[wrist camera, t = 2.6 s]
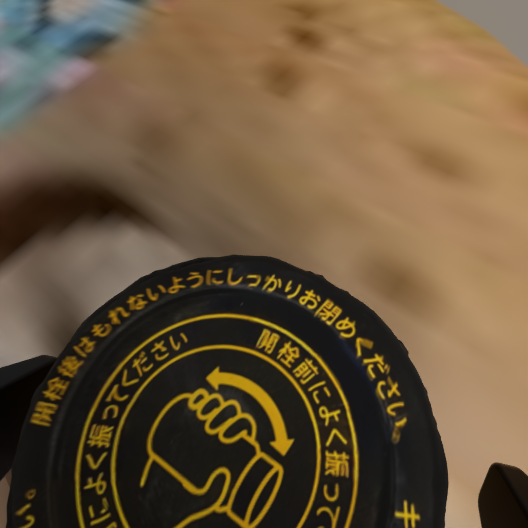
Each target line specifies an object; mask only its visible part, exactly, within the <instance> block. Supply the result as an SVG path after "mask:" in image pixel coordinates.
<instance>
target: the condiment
mask: <svg viewBox="0 0 528 528" xmlns="http://www.w3.org/2000/svg"><path fill="white" fill-rule="evenodd" d="M11 475H12V478H11V484H10V491H9V496H8V501H7V523H6V528H444V527H445V512H446V502H447V494H448V470H447V461H446V457H445V453H444V449H443V444H442V441H441V436H440V434H439V432H438V430H437V423H436V420H435V418H434V416H433V413H432V408H431V404H430V401H429V398H428V396H427V390H426V389H425V387H424V385H423V383H422V380H421V378H420V376H419V374H418V372H417V370H416V368H415V367H414V365H413V363H412V362H411V360H410V358H409V357H408V351H407V349H406V348H405V346H404V344H403V343H402V342H401V341H400V340H398V339H397V337H396V336H395V335H394V334H393V332H392V330H391V329H390V328H389V327H388V326H387V325H386V324H385V323H384V321H383V320H382V319H381V318H380V317H379V316H378V315H377V314H376V313H375V312H374V311H373V310H372V309H370V308H369V307H368V306H366V305H365V304H364V303H362V302H361V301H359V300H358V299H356V298H354V297H353V296H351V295H350V294H349V293H348V292H347V291H344V290H342V289H339V288H337V287H336V286H334V285H333V284H331V283H330V282H328V281H327V280H326V279H325V278H324V277H323V276H322V275H317V274H314V273H313V272H311V271H304V270H302V269H299V268H297V267H295V266H293V265H291V264H288V263H286V262H284V261H281V260H279V259H276V258H272V257H267V256H243V255H230V256H224V257H206V258H197V259H194V260H190V261H186V262H182V263H179V264H175V265H172V266H170V267H168V268H165V269H162V270H157V271H154V272H152V273H151V274H149V275H146V276H143V277H141V278H139V279H138V280H137V281H135V282H134V283H133V284H131V285H130V286H129V287H127V288H126V289H125V290H123V291H122V292H121V293H119V294H117V295H116V296H114V297H113V298H111V299H110V300H109V301H108V302H106V303H105V304H104V305H103V306H101V307H100V308H99V309H97V310H96V311H95V312H94V313H93V314H92V315H90V316H89V317H88V318H87V319H86V320H85V321H84V322H83V323H82V324H81V326H80V327H79V328H78V329H77V331H76V332H75V334H74V336H73V337H72V339H71V340H70V342H69V343H68V344H67V346H66V347H65V349H64V350H63V351H62V353H61V354H60V355H59V357H58V358H57V360H56V361H55V363H54V364H53V366H52V368H51V369H50V371H49V373H48V374H47V376H46V378H45V379H44V381H43V382H42V383H41V384H40V385H39V386H38V388H37V389H36V390H35V393H34V395H33V397H32V399H31V403H30V407H29V410H28V413H27V416H26V418H25V421H24V423H23V426H22V429H21V434H20V439H19V442H18V445H17V450H16V455H15V458H14V461H13V463H12V468H11Z"/></svg>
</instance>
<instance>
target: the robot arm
mask: <svg viewBox="0 0 528 528" xmlns="http://www.w3.org/2000/svg"><path fill="white" fill-rule="evenodd" d="M56 360H57V357H53V356H48V355H41V356H38V357H35V358H31V359H28V360H25V361H22V362H18V363H15V364H12V365H9V366H5V367H2V368H0V481H1V480H2V479H3V478H4V477H5V476H6V475H7V473H8V472H9V471H10V470H11V468H12V463H13V461H14V458H15V455H16V450H17V445H18V442H19V439H20V434H21V429H22V426H23V423H24V421H25V418H26V416H27V413H28V410H29V407H30V403H31V399H32V397H33V395H34V393H35V390H36V389H37V388H38V386H39V385H40V384H41V383H42V382H43V381H44V379H45V378H46V376H47V374H48V373H49V371H50V369H51V368H52V366H53V364H54V363H55V361H56ZM478 508H479V514H480V520H481V526H482V528H528V476H527V475H526V474H525V473H524V472H523V471H522V470H521V469H519V468H517V467H515V466H510V465H506V464H502V463H493V464H492V465H491V466H490V468H489V470H488V473H487V475H486V478H485V480H484V483H483V485H482V487H481V490H480V493H479V497H478Z"/></svg>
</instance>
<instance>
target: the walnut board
mask: <svg viewBox="0 0 528 528" xmlns="http://www.w3.org/2000/svg"><path fill="white" fill-rule="evenodd" d="M11 478H12V475H11V470H10V471H9V472H8V473H7V475H6V476H5V477H4V478H3V479H2V480H1V481H0V528H6V523H7V501H8V496H9V491H10V484H11Z"/></svg>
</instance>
